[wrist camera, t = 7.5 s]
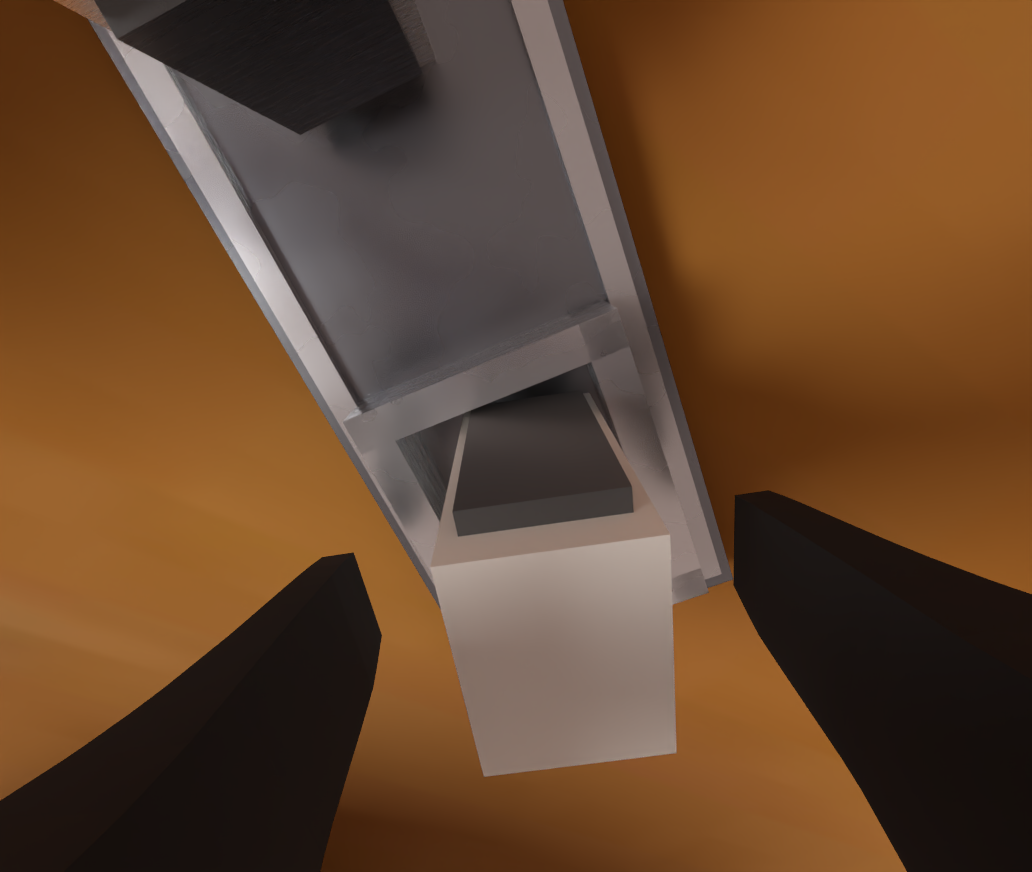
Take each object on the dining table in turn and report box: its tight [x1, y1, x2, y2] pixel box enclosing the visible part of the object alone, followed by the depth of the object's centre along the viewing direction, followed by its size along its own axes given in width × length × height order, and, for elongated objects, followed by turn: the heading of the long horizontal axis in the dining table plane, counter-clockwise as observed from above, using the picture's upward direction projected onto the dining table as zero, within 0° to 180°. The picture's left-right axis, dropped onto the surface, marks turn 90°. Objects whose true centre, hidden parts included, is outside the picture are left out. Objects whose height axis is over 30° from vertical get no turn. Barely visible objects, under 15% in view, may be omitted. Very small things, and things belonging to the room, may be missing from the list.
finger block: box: [430, 391, 676, 777], centre depth 9 cm, size 3×4×6 cm
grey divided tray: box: [54, 0, 733, 609], centre depth 8 cm, size 8×20×7 cm, turn 22°
